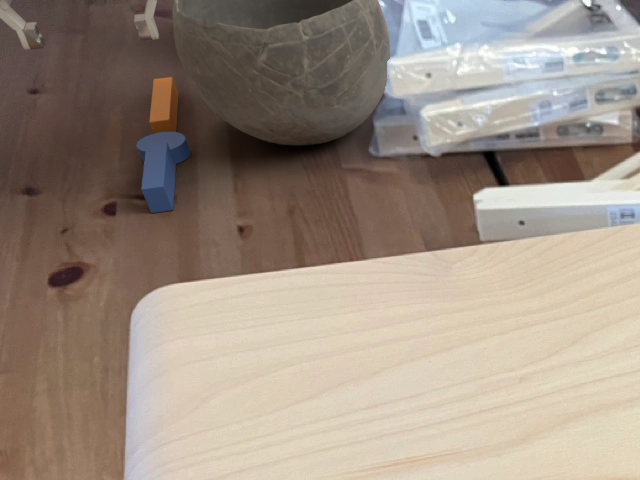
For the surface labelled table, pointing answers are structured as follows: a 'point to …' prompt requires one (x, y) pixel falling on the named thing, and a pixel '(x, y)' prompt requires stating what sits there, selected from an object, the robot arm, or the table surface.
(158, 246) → the table surface
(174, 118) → the block
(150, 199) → the blue block
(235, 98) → the bowl
